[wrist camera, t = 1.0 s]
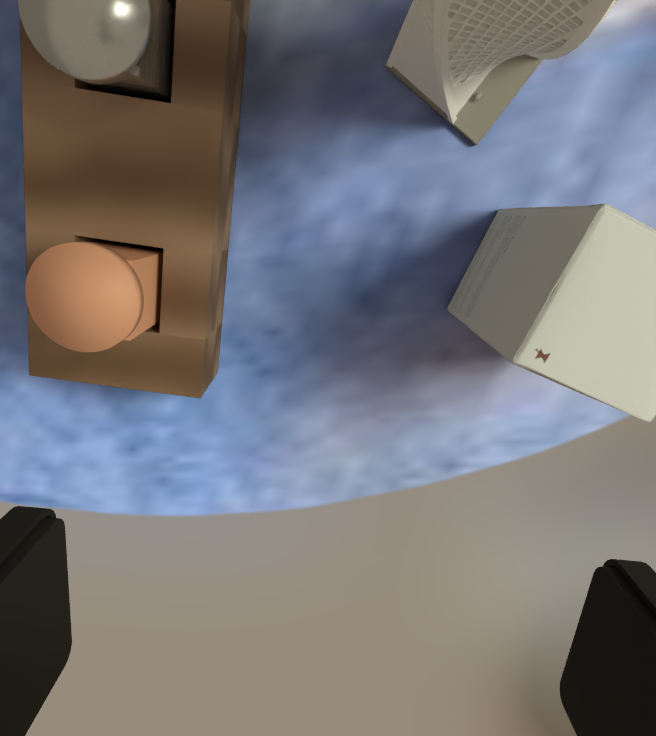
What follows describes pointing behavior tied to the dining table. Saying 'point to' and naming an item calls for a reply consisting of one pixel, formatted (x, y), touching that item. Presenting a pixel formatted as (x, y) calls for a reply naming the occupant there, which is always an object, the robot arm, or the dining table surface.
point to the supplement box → (569, 300)
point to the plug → (106, 41)
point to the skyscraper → (484, 51)
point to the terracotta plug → (94, 293)
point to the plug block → (142, 194)
